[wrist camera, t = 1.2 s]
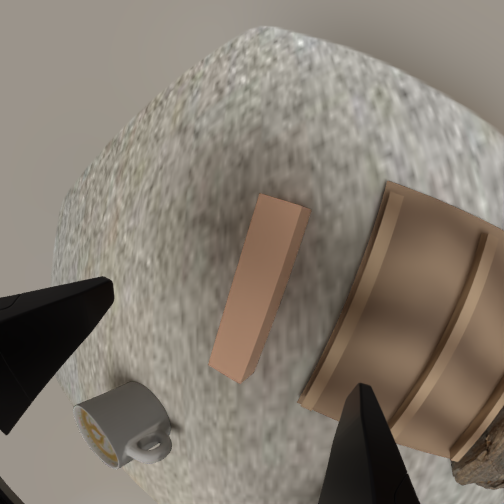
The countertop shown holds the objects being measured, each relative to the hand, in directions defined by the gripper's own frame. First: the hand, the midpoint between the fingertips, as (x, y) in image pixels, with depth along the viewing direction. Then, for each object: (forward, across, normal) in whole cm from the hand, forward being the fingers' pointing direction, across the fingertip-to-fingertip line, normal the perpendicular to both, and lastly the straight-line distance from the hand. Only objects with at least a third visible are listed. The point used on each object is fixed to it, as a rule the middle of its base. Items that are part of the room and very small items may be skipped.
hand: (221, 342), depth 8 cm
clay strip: (+15, +1, +8) cm, 17 cm away
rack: (+11, -14, +5) cm, 19 cm away
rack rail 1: (+13, -7, +5) cm, 16 cm away
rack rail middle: (+11, -14, +5) cm, 19 cm away
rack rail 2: (+10, -22, +4) cm, 25 cm away
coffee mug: (+9, +10, +32) cm, 35 cm away
